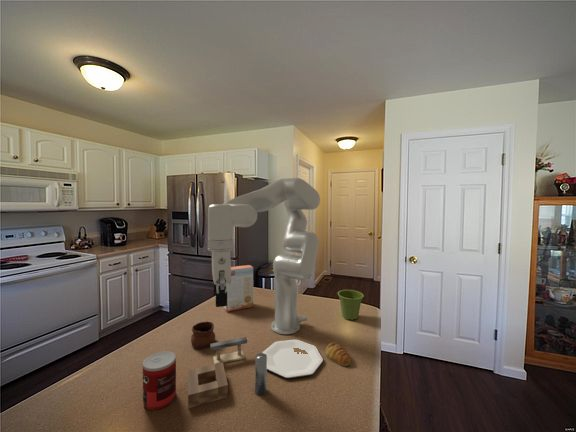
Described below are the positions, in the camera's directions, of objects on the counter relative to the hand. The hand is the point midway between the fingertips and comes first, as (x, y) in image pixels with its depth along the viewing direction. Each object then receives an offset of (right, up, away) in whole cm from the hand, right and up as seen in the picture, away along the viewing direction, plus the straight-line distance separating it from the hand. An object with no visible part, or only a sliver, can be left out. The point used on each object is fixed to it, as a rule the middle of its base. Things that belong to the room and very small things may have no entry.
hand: (220, 300), depth 75 cm
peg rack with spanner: (+1, -23, +8) cm, 24 cm away
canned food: (-14, -24, -9) cm, 29 cm away
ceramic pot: (-11, -23, +17) cm, 31 cm away
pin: (+13, -24, -6) cm, 28 cm away
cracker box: (-4, -21, +49) cm, 54 cm away
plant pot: (+50, -22, +41) cm, 68 cm away
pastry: (+38, -24, +10) cm, 46 cm away
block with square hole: (-2, -23, -6) cm, 24 cm away
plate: (+22, -24, +9) cm, 34 cm away
